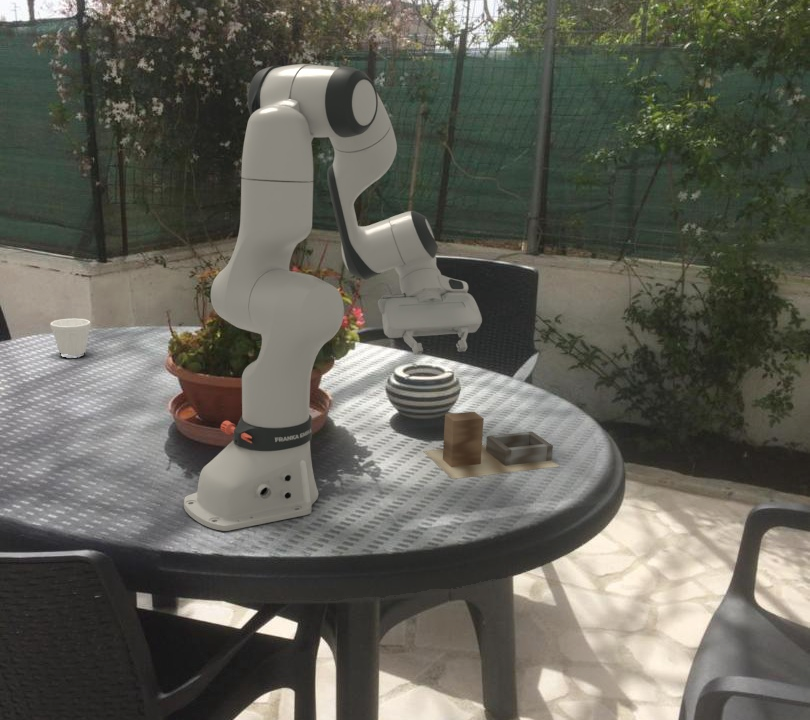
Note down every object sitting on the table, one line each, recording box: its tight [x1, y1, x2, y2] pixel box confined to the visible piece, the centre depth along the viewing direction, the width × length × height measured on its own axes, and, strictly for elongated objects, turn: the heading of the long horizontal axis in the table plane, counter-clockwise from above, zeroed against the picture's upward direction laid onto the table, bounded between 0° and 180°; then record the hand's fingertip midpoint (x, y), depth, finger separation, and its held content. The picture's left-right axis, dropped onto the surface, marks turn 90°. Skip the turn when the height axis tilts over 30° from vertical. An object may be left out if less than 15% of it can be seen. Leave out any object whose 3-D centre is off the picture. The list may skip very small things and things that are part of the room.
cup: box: [50, 318, 91, 355], centre depth 222 cm, size 10×10×9 cm
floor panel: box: [422, 431, 560, 480], centre depth 158 cm, size 22×14×4 cm, turn 110°
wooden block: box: [442, 411, 484, 467], centre depth 155 cm, size 6×4×9 cm, turn 110°
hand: (441, 351), depth 163 cm, fingers open, 8 cm apart
